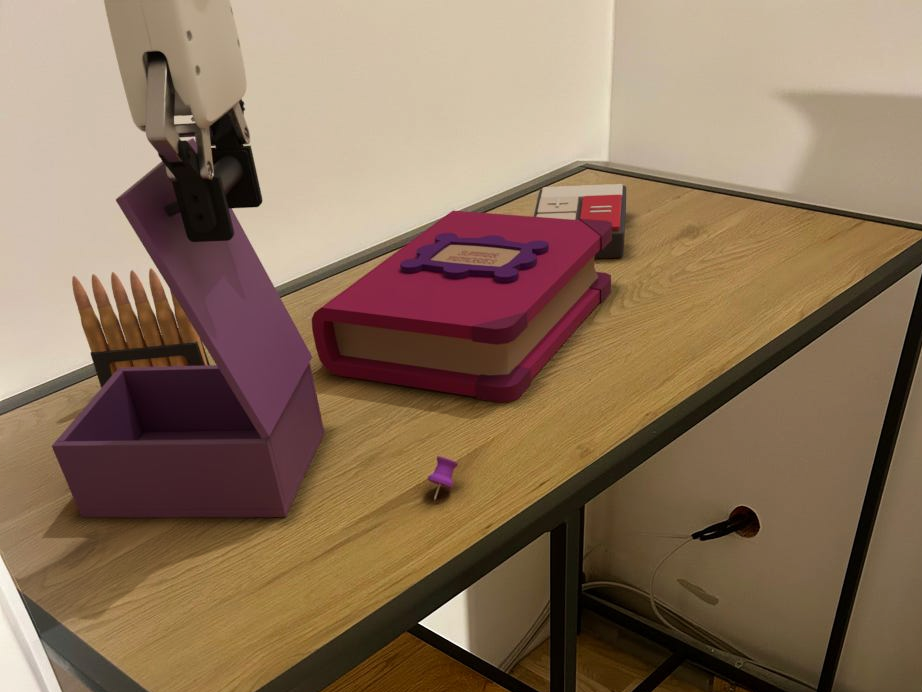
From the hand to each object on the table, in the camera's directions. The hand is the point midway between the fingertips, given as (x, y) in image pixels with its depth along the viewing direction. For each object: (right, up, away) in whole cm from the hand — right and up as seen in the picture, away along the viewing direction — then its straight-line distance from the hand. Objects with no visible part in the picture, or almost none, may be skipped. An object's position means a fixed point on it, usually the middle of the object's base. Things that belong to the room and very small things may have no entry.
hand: (226, 220), depth 67 cm
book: (+18, +3, +33) cm, 37 cm away
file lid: (-1, -4, +4) cm, 5 cm away
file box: (-5, -15, +15) cm, 22 cm away
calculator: (+30, +20, +51) cm, 62 cm away
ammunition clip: (-14, -5, +27) cm, 31 cm away
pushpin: (+15, -18, +10) cm, 25 cm away
